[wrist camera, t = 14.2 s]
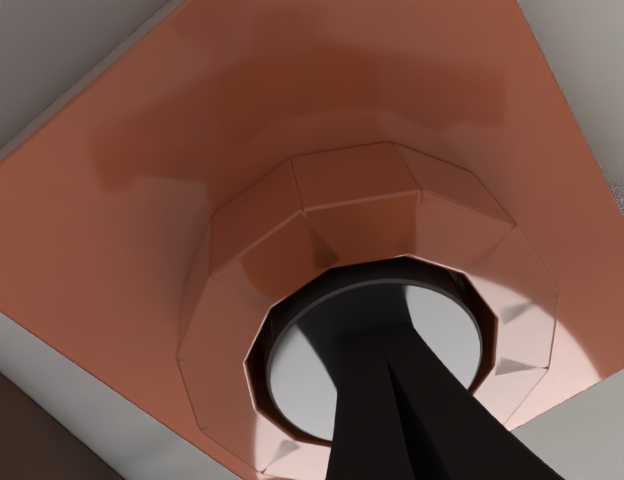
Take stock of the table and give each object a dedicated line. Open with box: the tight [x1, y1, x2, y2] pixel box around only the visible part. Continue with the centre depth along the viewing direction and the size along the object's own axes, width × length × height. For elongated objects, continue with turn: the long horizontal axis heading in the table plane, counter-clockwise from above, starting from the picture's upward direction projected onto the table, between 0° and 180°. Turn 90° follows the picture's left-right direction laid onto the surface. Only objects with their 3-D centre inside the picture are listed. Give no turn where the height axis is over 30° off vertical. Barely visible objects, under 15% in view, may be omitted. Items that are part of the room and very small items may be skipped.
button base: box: [0, 0, 624, 480], centre depth 12 cm, size 13×11×4 cm
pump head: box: [261, 256, 482, 442], centre depth 11 cm, size 4×4×2 cm
